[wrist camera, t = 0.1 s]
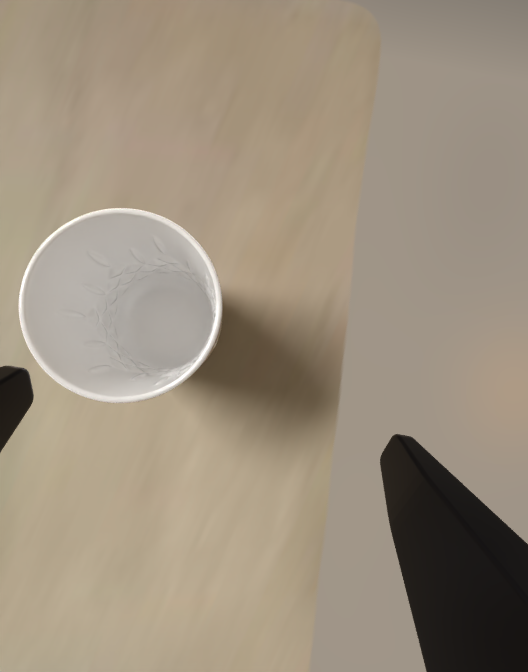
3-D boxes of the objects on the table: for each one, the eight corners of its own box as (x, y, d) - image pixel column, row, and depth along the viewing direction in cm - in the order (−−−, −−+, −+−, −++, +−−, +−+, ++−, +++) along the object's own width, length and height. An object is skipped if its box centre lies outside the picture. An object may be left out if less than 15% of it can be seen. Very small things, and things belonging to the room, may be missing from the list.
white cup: (237, 282, 23) (239, 231, 13) (216, 387, 22) (201, 418, 12) (130, 259, 22) (43, 187, 12) (106, 367, 22) (-4, 383, 12)
